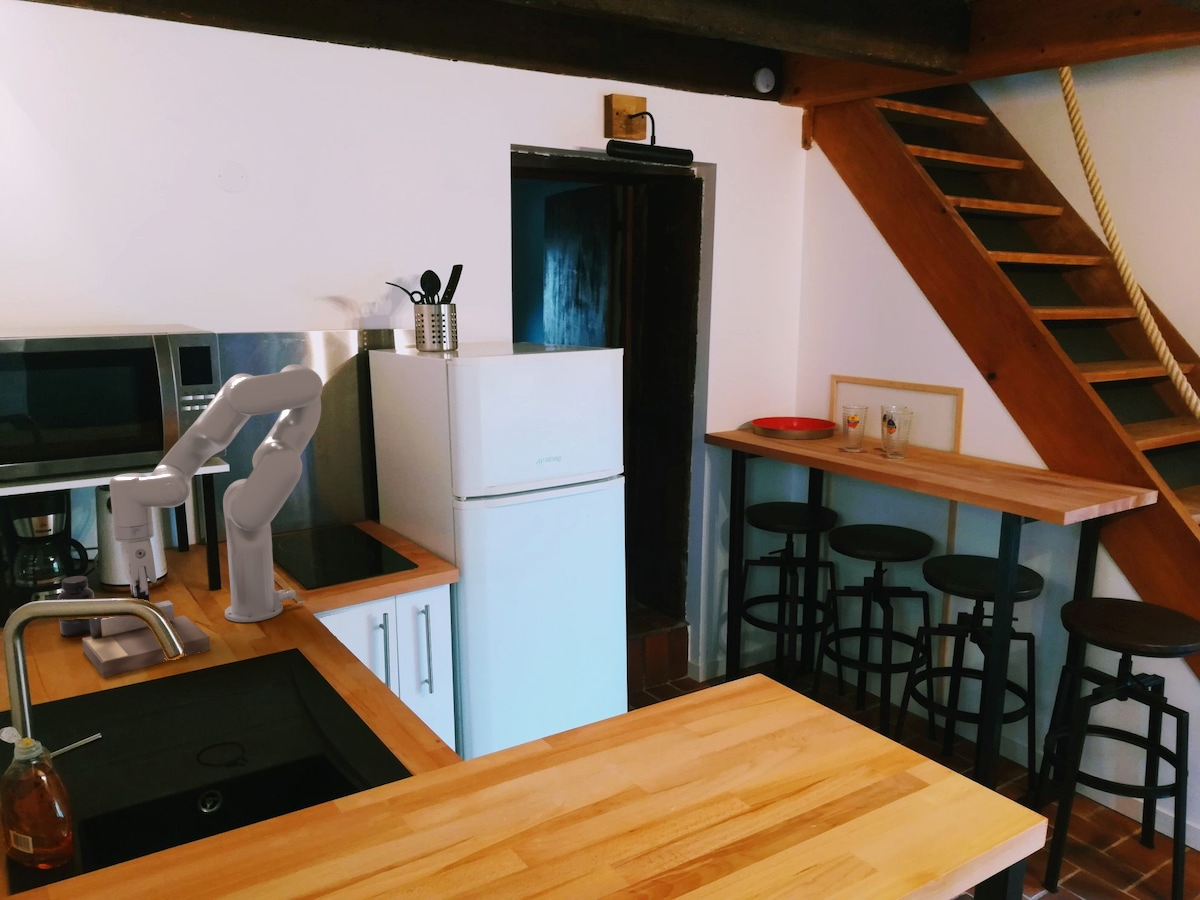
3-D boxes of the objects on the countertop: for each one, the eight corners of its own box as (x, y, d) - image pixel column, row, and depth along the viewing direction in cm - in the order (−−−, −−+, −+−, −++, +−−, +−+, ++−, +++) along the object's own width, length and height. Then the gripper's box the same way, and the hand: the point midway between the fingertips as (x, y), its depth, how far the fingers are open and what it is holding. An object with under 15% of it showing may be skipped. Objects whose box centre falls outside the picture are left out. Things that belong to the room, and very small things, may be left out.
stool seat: (185, 627, 196) (183, 614, 196) (210, 650, 184) (208, 635, 184) (83, 652, 183) (82, 637, 182) (103, 677, 171) (102, 662, 171)
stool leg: (93, 639, 180) (91, 621, 180) (89, 635, 183) (87, 616, 182) (174, 620, 191) (173, 603, 190) (169, 616, 193) (168, 599, 192)
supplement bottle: (64, 640, 189) (58, 586, 187) (58, 630, 194) (52, 578, 192) (100, 632, 193) (94, 580, 191) (93, 623, 198) (88, 572, 196)
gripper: (161, 535, 187) (168, 617, 190) (145, 520, 198) (152, 598, 202) (121, 542, 182) (129, 626, 185) (107, 526, 193) (115, 605, 197)
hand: (141, 611), depth 193 cm, fingers closed
